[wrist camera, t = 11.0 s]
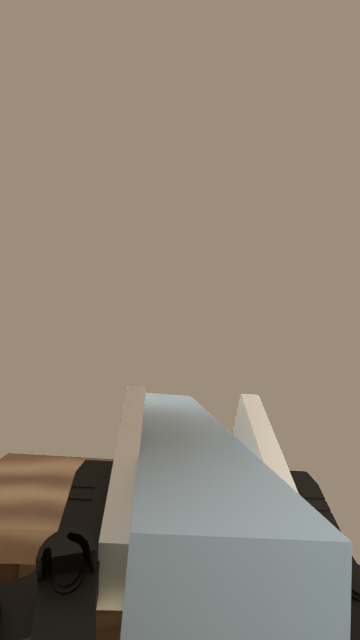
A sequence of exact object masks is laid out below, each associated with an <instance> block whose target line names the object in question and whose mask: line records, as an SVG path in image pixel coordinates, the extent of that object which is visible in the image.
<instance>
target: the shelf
mask: <svg viewBox="0 0 360 640" xmlns="http://www.w3.org/2000/svg"><path fill="white" fill-rule="evenodd" d="M85 460H101V461H114V459H98V458H80V457H63V456H45V455H29V454H27V455H26V454H10V453H8V454H7V455H5V456H4V457H3V458H1V459H0V584H4V583H7V582H10V581H13V580H17V579H20V578H22V577H24V576H27V575H29V574H30V573H32V572H33V571H35V570H36V557H37V554H38V551H39V548H40V547H41V545H42V544H43V543H44V541H45V540H46V539H47V538H48V537H49V536H51V535H52V534H54V533H55V532H57V531H58V528H59V525H60V522H61V518H62V515H63V512H64V508H65V505H66V502H67V499H68V495H69V492H70V489H71V485H72V482H73V479H74V475H75V472H76V471H77V469H78V468H79V467H80V466H81V465H82V463H83V462H84V461H85ZM122 614H123V611H116V610H96V640H120V635H121V625H122Z"/></svg>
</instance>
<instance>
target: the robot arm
mask: <svg viewBox="0 0 360 640" xmlns="http://www.w3.org/2000/svg"><path fill="white" fill-rule="evenodd" d="M145 389H146V387H145V386H133V385H127V390H126V395H125V401H124V406H123V412H122V418H121V423H120V428H119V434H118V439H117V445H116V450H115V455H114V461H101V460H85V461H84V462H83V463H82V465H81V466H80V467H79V468H78V469H77V471H76V472H75V475H74V479H73V482H72V485H71V489H70V492H69V495H68V499H67V502H66V505H65V508H64V512H63V515H62V518H61V522H60V525H59V528H58V531H57V532H55V533H54V534H52V535H51V536H49V537H48V538H47V539H46V540H45V541H44V543H43V544H42V545H41V547H40V548H39V551H38V554H37V557H36V570H35V571H33V572H32V573H30V574H29V575H27V576H24V577H22V578H20V579H17V580H13V581H10V582H7V583H4V584H0V640H96V610H116V611H123V603H124V592H125V581H126V571H127V560H128V549H129V538H130V528H131V520H132V511H133V502H134V493H135V484H136V475H137V466H138V457H139V452H140V443H141V433H142V423H143V412H144V401H145ZM232 434H233V435H234V436H235V437H236V438H237V439H238V440H239V441H240V442H241V443H243V444H244V445H245V446H246V447H247V448H248V449H249V450H250V451H251V452H253V453H254V454H255V455H256V456H257V457H258V458H259V459H260V460H261V461H262V462H264V463H265V464H266V465H267V466H268V467H269V468H270V469H272V470H273V471H274V472H275V473H276V474H277V475H278V476H279V477H280V478H282V479H283V480H284V481H285V482H286V483H287V484H288V485H289V486H290V487H292V488H293V489H294V490H295V491H296V492H297V493H298V494H299V495H300V496H301V497H303V498H304V499H305V500H306V501H307V502H308V503H309V504H310V505H311V506H313V507H314V508H315V509H316V510H317V511H318V512H319V513H320V514H321V515H323V516H324V517H325V518H326V519H327V520H328V521H329V522H330V523H331V524H332V525H334V526H335V527H336V528H337V529H338V530H339V531H340V529H339V527H338V525H337V523H336V521H335V519H334V517H333V515H332V513H331V512H330V508H329V506H328V504H327V502H326V501H325V498H324V496H323V494H322V492H321V490H320V488H319V485H318V484H317V483H316V482H315V481H314V480H313V478H312V477H311V476H310V475H309V474H308V473H307V472H303V471H289V469H288V466H287V464H286V461H285V459H284V456H283V454H282V451H281V449H280V446H279V444H278V442H277V439H276V437H275V435H274V432H273V429H272V427H271V424H270V422H269V420H268V417H267V415H266V413H265V410H264V407H263V405H262V403H261V400H260V398H259V395H251V394H241V396H240V401H239V405H238V409H237V414H236V419H235V423H234V428H233V433H232ZM340 532H341V531H340ZM350 640H360V565H359V564H357V563H356V561H355V560H354V558H353V556H352V580H351V629H350Z"/></svg>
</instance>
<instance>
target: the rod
mask: <svg viewBox="0 0 360 640" xmlns="http://www.w3.org/2000/svg"><path fill="white" fill-rule="evenodd" d="M351 580H352V542H351V541H350V540H349V539H348V538H347V537H346V536H345V535H344V534H342V533H341V532H340V531H339V530H338V529H337V528H336V527H335V526H334V525H332V524H331V523H330V522H329V521H328V520H327V519H326V518H325V517H324V516H323V515H321V514H320V513H319V512H318V511H317V510H316V509H315V508H314V507H313V506H311V505H310V504H309V503H308V502H307V501H306V500H305V499H304V498H303V497H301V496H300V495H299V494H298V493H297V492H296V491H295V490H294V489H293V488H292V487H290V486H289V485H288V484H287V483H286V482H285V481H284V480H283V479H282V478H280V477H279V476H278V475H277V474H276V473H275V472H274V471H273V470H272V469H270V468H269V467H268V466H267V465H266V464H265V463H264V462H262V461H261V460H260V459H259V458H258V457H257V456H256V455H255V454H254V453H253V452H251V451H250V450H249V449H248V448H247V447H246V446H245V445H244V444H243V443H241V442H240V441H239V440H238V439H237V438H236V437H235V436H234V435H233V434H232V433H231V432H230V431H228V430H227V429H226V428H225V427H224V426H223V425H222V424H221V423H220V422H218V421H217V420H216V419H215V418H214V417H213V416H212V415H211V414H210V413H208V412H207V411H206V410H205V409H204V408H203V407H202V406H201V405H199V403H197V402H196V401H195V400H194V399H193V398H192V397H191V396H183V395H169V394H156V393H146V395H145V404H144V413H143V423H142V433H141V443H140V452H139V457H138V466H137V475H136V484H135V493H134V502H133V511H132V520H131V528H130V538H129V549H128V560H127V571H126V581H125V592H124V603H123V614H122V625H121V635H120V640H350V629H351Z"/></svg>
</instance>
